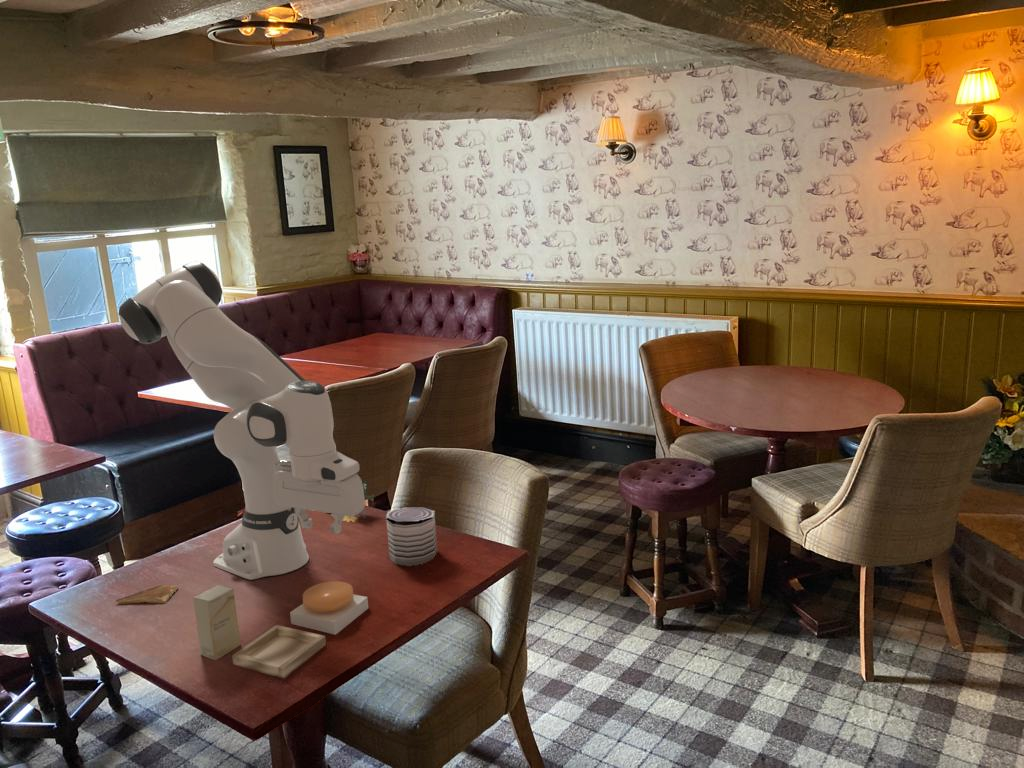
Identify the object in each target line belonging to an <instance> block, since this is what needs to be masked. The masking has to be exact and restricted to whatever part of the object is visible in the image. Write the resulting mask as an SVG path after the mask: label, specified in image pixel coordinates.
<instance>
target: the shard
mask: <svg viewBox="0 0 1024 768" xmlns="http://www.w3.org/2000/svg"><path fill="white" fill-rule="evenodd" d="M177 589H178V590H179V586H178V585H162V584H161V585H158V586H154V587H152V588H149V589H148V588H147V589H145V590H142V591H139V592H136V593H133V594H131V595H128V596H125V597H122V598H119V599H115V602H117V604H118V605H125V603H126V604H142V603H143V604H145V603H144V602H147V603H146V604H152V603H153V604H165V603H167V602H168V600H169V599H170V598H171V597H172V596H173V595H174V594H175V593H176V592H177V591H178V590H177ZM176 590H177V591H176ZM174 592H175V593H174ZM173 593H174V594H173ZM172 594H173V595H172ZM169 597H170V598H169ZM141 602H142V603H141Z"/></svg>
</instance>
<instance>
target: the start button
mask: <svg viewBox="0 0 1024 768" xmlns="http://www.w3.org/2000/svg"><path fill="white" fill-rule="evenodd" d="M354 595H355V593H354V588H353V586H352V584H350V583H348V582H345V581H340V580H339V581H336V580H335V581H334V580H333V581H332V580H331V581H324V582H321V583H317V584H315V585H312V586H310V587H308V588H307V589H306V590H304V592H303V593H302V604H304V607H305V608H306V609H308V610H311V611H316V612H326V611H333V610H337V609H340V608H342V607H344V606H346V605H348V604H349V603H350V602H351V601H352V600H353V598H354Z"/></svg>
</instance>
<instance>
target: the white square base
mask: <svg viewBox="0 0 1024 768" xmlns="http://www.w3.org/2000/svg"><path fill="white" fill-rule="evenodd" d="M368 599H369V598H368V596H365V595H364V596H363V595H358V594H354V598H353V600H352V601H351V602H350V603H349V604H348V605H346V606H344V607H342V608H340V609H337V610H333V611H326V612H316V611H311V610H308V609H306V608H305V607H304V604H303V603H302V604H301V605H298V606H297V607H296V608H294V609H293V610H292V611H290V612H289V614H290V616H289V617H290V622H291V623H290V624H291V625H295V626H299V627H303V628H306V629H311V630H316V631H318V632H323V633H327V634H331V635H334V636H336V635H337V634H339V633H340V632H341V631H342V630H343V629H344V628H346V627H347V626H348V625H350V624H351V623H352V622H353V621H354V620H356V619H357V618H358V617H359V616H361V615H362V614H363V613H364V612H366V611H367V610H368V609H369V600H368Z"/></svg>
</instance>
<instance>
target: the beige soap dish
mask: <svg viewBox="0 0 1024 768" xmlns="http://www.w3.org/2000/svg"><path fill="white" fill-rule="evenodd" d="M326 640H327V639H326V635H323V634H318V633H314V632H309V631H306V630H305V631H304V630H301V629H296V628H292V627H287V626H284V625H278V624H276V625H274V626H273V627H272V628H269V629H268V630H267V631H266V632H264V633H263V634H261V635H259V636H258V637H256V638H255V639H254V640H252V641H250V643H248V644H246V645H245V646H243V648H241V649H239V650H238V651H236V652H235V653H233V654H231V657H232V658H231V659H232V664H233V665H234V666H238V667H241V668H245V669H249V670H252V671H256V672H258V673H263V674H265V675H269V676H273V677H276V678H279V679H282V680H283V679H285V678H287V677H288V676H289V675H291V674H292V673H293V672H294V671H296V670H297V669H298V668H299V667H300V666H302V665H303V664H304V663H305V662H306V661H307V662H308V660H309V659H310V658H311V657H313V656H314V655H315V654H316V653H318V652H319V651H320V650H322V649H323V648H324V647H325V646H326V645H327V641H326Z"/></svg>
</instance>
